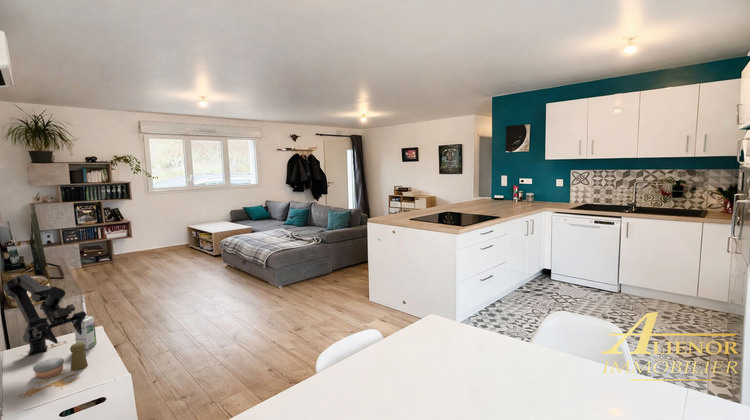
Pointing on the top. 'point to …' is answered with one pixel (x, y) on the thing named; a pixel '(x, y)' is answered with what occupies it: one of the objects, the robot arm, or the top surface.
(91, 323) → the syrup box
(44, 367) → the lid
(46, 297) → the robot arm
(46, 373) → the bowl
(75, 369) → the cork
